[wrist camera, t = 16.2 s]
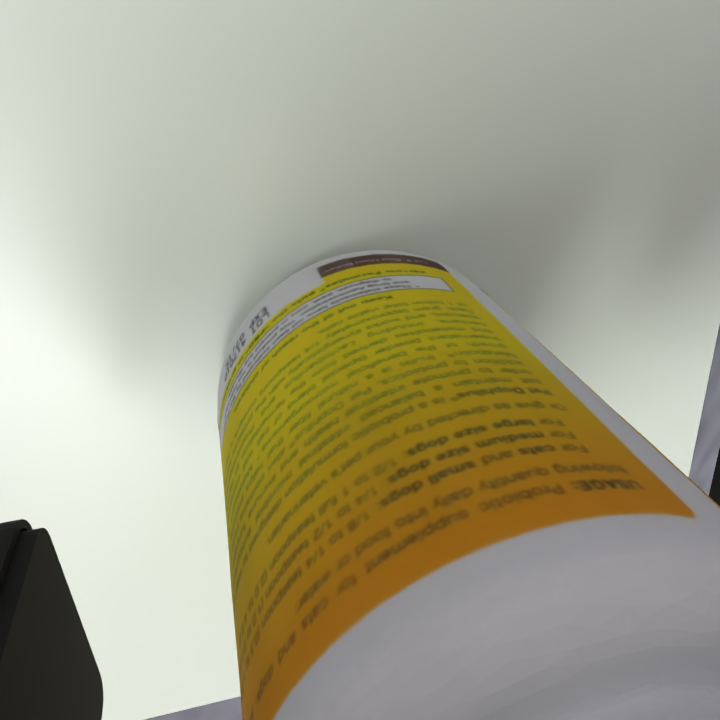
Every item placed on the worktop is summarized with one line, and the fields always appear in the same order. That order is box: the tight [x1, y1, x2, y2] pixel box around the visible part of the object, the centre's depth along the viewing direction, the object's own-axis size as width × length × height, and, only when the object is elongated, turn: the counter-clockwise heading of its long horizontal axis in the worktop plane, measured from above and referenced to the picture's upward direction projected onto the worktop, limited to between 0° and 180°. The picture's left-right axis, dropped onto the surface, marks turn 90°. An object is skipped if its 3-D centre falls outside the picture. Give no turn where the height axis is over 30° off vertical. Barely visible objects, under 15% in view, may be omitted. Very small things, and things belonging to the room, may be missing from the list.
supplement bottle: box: [217, 250, 720, 720], centre depth 8 cm, size 6×6×10 cm
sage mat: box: [0, 0, 720, 720], centre depth 13 cm, size 16×16×1 cm
